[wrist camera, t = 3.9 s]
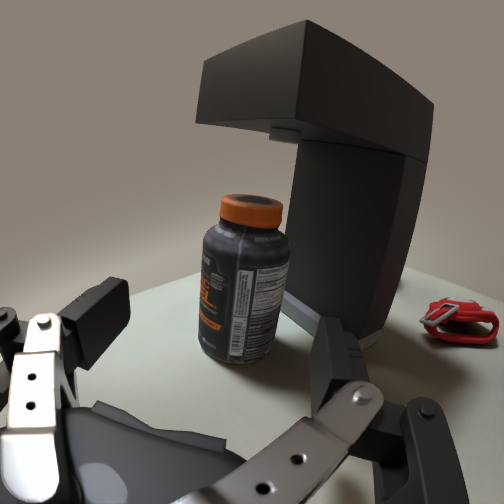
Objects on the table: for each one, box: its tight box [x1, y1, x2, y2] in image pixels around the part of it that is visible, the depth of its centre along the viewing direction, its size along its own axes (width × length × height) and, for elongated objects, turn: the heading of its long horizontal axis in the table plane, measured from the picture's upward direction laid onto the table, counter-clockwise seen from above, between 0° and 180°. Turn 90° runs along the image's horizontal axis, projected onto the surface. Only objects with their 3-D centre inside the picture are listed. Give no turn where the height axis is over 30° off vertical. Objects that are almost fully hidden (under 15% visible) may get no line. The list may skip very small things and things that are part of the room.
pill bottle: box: [198, 194, 291, 364], centre depth 21 cm, size 6×6×11 cm
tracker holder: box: [419, 297, 499, 344], centre depth 25 cm, size 12×4×10 cm
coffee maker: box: [196, 20, 434, 351], centre depth 21 cm, size 14×11×21 cm
